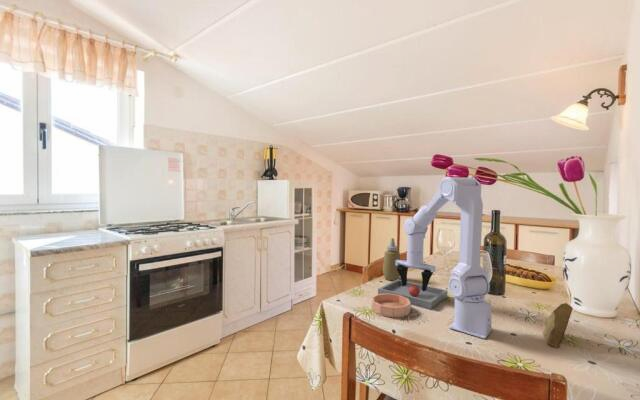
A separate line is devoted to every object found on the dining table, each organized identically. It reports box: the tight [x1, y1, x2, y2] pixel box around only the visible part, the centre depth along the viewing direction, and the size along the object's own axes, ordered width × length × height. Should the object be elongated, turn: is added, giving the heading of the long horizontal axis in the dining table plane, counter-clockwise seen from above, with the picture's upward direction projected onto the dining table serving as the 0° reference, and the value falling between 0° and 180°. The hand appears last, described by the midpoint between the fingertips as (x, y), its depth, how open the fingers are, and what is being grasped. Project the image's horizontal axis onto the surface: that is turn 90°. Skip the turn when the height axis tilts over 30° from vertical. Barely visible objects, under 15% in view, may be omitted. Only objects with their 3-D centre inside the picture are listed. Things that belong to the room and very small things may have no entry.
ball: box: [408, 285, 420, 296], centre depth 112 cm, size 4×4×4 cm
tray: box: [377, 278, 449, 311], centre depth 114 cm, size 20×16×2 cm
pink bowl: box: [371, 293, 412, 319], centre depth 101 cm, size 12×13×3 cm
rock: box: [542, 302, 574, 349], centre depth 83 cm, size 11×9×10 cm
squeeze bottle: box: [382, 237, 401, 282], centre depth 135 cm, size 8×8×18 cm
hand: (414, 288), depth 112 cm, fingers open, 7 cm apart
